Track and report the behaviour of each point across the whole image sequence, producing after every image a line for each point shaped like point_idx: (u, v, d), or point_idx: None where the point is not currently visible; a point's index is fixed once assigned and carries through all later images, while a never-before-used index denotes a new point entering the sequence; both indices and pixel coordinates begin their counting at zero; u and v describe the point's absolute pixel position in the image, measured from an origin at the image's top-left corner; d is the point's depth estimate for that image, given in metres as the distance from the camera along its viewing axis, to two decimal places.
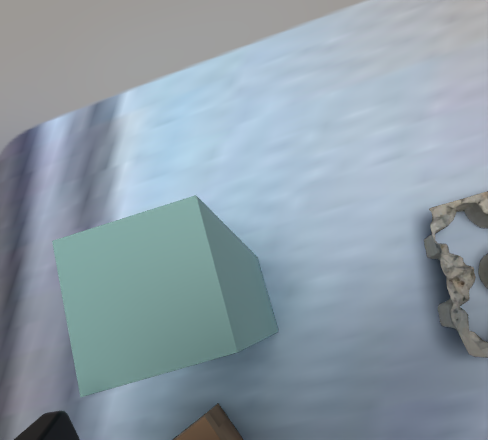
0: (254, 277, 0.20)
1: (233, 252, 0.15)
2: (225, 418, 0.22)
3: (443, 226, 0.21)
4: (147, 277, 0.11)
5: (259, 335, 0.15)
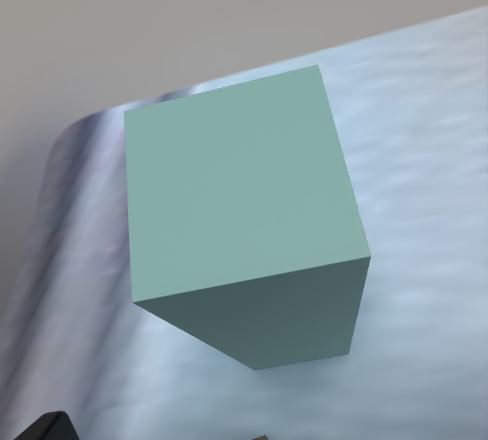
0: None
1: None
2: None
3: None
4: (243, 155, 0.08)
5: None
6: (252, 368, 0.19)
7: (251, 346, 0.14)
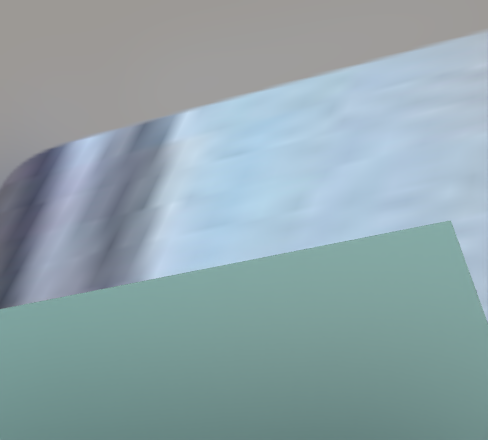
0: None
1: None
2: None
3: None
4: None
5: None
6: None
7: None
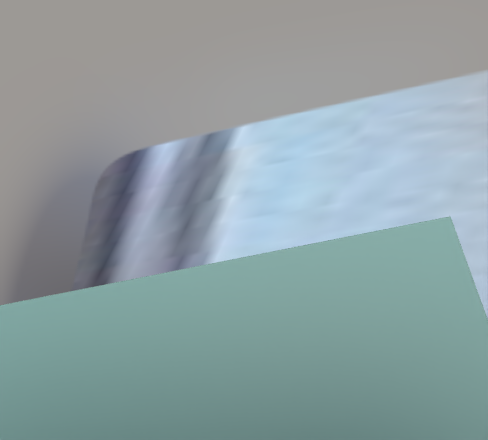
0: None
1: None
2: None
3: None
4: None
5: None
6: None
7: None
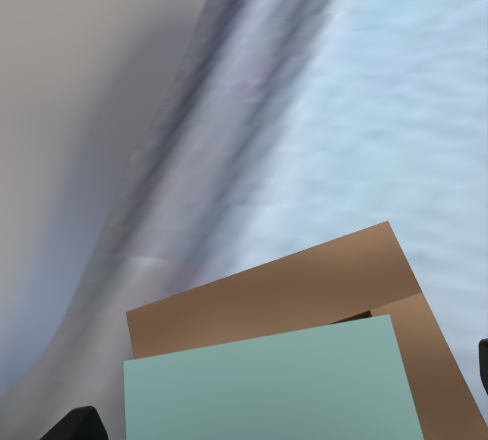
0: None
1: None
2: None
3: None
4: None
5: None
6: None
7: None
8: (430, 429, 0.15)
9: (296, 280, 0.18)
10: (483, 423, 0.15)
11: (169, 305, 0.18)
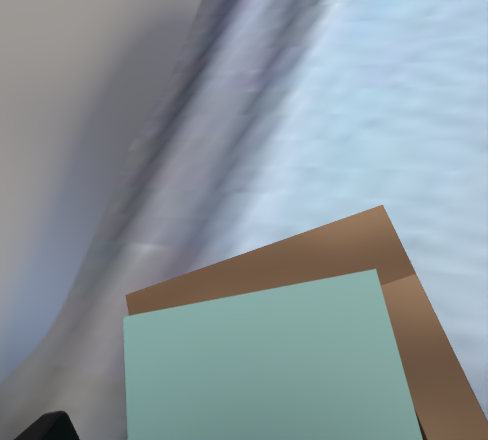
0: None
1: None
2: None
3: None
4: (282, 405, 0.06)
5: None
6: None
7: None
8: (423, 405, 0.15)
9: (292, 263, 0.18)
10: (475, 399, 0.15)
11: (168, 288, 0.18)
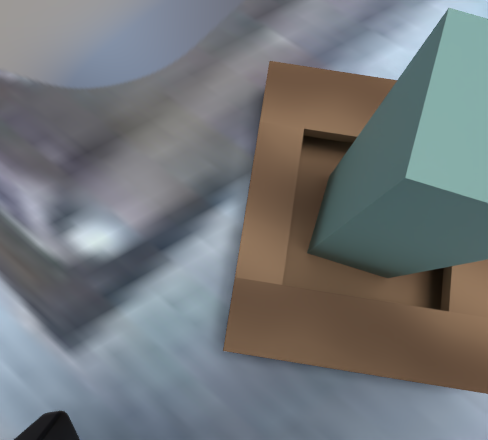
0: None
1: None
2: None
3: None
4: None
5: None
6: (309, 251, 0.21)
7: (360, 240, 0.16)
8: None
9: None
10: None
11: (307, 73, 0.21)
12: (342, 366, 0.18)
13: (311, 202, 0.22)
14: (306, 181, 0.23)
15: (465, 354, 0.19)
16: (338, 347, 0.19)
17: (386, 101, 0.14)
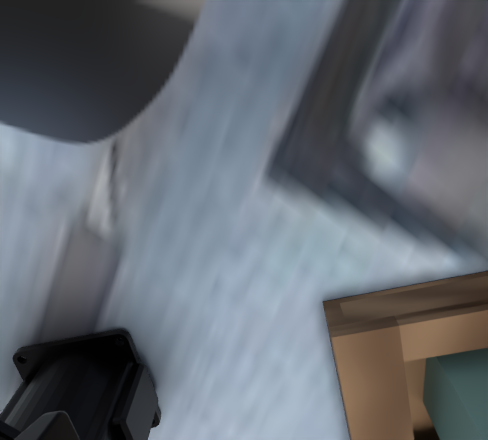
0: None
1: None
2: None
3: None
4: None
5: None
6: None
7: None
8: None
9: None
10: None
11: None
12: (350, 418, 0.22)
13: None
14: None
15: None
16: (364, 412, 0.22)
17: None
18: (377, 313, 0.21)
